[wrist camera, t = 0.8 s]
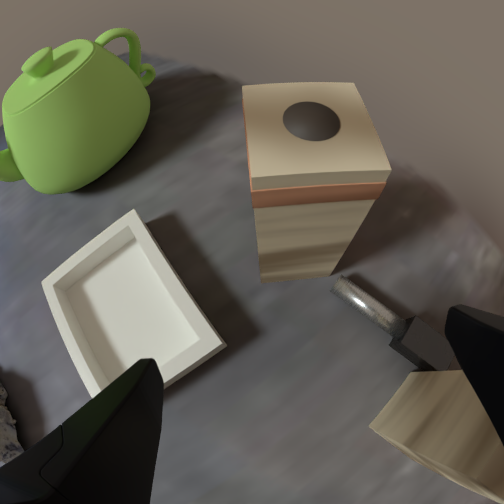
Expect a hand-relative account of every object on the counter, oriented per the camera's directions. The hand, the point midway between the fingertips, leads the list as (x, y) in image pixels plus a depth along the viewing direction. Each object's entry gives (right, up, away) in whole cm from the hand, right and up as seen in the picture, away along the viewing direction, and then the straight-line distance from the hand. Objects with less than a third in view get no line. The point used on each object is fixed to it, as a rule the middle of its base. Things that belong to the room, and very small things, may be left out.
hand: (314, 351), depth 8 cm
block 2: (+10, -9, +10) cm, 17 cm away
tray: (-11, -2, +14) cm, 18 cm away
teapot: (-20, +13, +20) cm, 31 cm away
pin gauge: (+9, -3, +12) cm, 15 cm away
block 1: (+1, +3, +15) cm, 15 cm away
